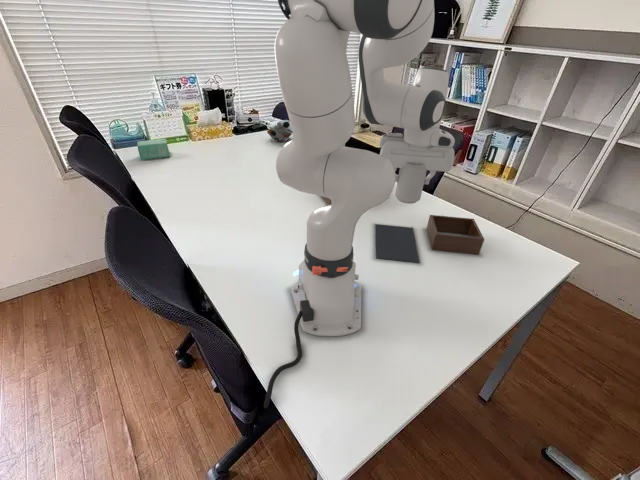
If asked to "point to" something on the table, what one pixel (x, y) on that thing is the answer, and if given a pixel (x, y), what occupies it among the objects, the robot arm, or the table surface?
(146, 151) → the box
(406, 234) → the mat
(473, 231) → the crate
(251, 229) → the table surface
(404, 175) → the can
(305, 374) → the table surface
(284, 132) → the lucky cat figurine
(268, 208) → the table surface
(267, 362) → the table surface
